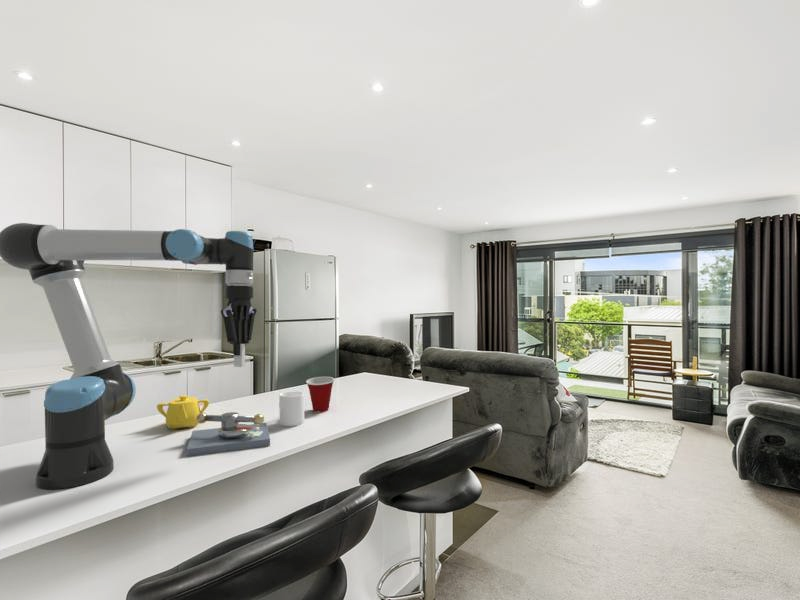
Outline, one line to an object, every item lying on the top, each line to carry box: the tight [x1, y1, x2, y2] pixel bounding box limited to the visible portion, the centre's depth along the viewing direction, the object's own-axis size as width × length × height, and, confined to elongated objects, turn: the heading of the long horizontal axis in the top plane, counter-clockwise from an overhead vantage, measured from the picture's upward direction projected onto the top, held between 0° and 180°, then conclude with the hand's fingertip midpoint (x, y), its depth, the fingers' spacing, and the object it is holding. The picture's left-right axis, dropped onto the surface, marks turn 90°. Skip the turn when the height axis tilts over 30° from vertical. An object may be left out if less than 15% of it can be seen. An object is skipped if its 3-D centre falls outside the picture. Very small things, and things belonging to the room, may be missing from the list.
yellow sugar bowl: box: [156, 394, 210, 430], centre depth 145 cm, size 14×13×10 cm
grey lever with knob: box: [196, 411, 265, 438], centre depth 128 cm, size 21×9×6 cm, turn 84°
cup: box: [278, 390, 305, 427], centre depth 148 cm, size 8×12×10 cm
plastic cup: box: [305, 376, 335, 413], centre depth 163 cm, size 11×11×12 cm
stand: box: [186, 422, 271, 457], centre depth 129 cm, size 22×17×3 cm
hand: (239, 366), depth 123 cm, fingers closed
